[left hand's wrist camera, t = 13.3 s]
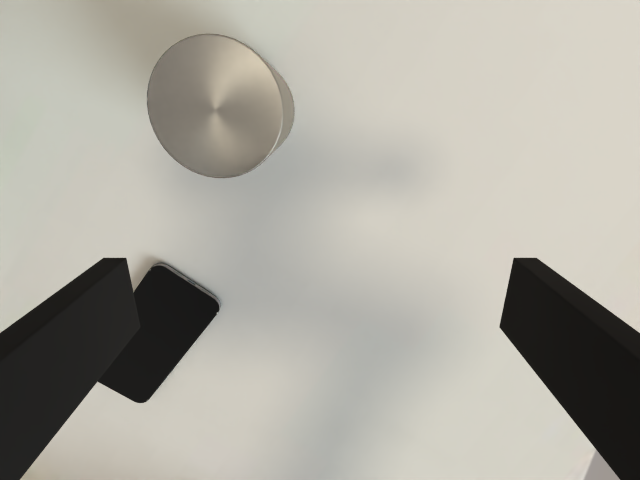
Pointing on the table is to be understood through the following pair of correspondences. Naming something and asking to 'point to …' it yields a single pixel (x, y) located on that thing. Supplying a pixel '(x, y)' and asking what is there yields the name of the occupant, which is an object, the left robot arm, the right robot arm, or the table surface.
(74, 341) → the left robot arm
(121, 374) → the smartphone
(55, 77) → the table surface
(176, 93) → the can
